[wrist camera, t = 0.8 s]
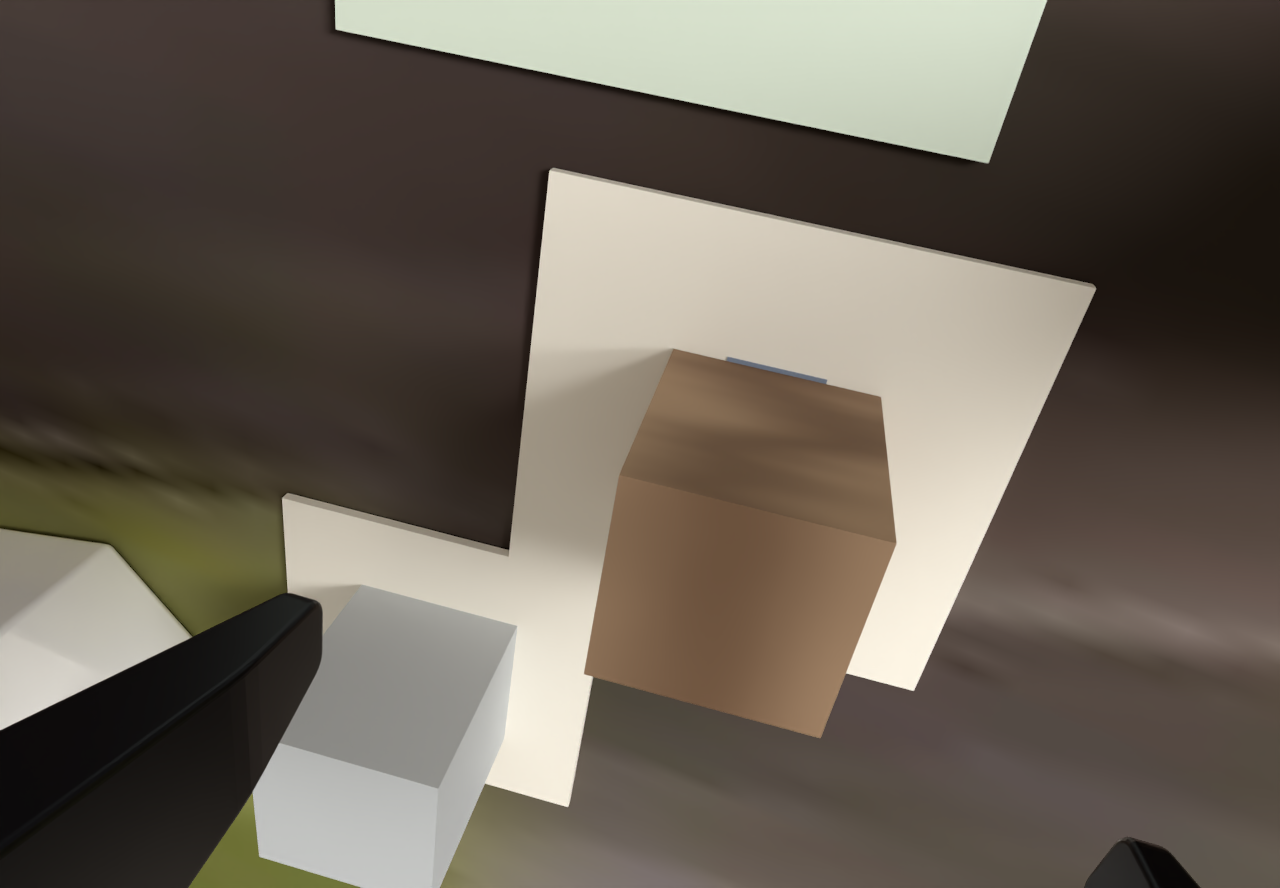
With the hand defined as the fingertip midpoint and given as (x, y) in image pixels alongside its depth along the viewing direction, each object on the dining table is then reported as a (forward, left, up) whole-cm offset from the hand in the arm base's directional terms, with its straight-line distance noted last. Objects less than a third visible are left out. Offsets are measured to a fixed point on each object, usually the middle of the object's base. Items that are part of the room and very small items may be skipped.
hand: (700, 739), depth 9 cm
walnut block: (0, +3, -12) cm, 13 cm away
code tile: (0, +3, -13) cm, 13 cm away
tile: (+8, +13, -13) cm, 20 cm away
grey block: (+8, +13, -12) cm, 20 cm away
